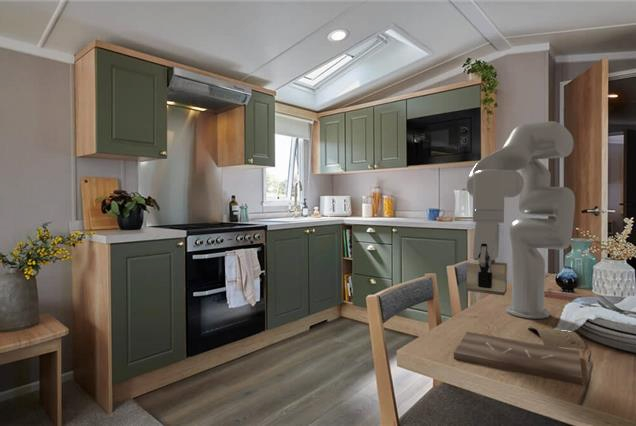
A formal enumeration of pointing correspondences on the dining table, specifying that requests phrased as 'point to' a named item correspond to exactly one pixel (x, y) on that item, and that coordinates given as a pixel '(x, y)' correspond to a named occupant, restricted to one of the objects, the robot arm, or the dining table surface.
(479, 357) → the walnut board
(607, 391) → the dining table surface
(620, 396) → the dining table surface
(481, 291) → the cream carton
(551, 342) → the clay tablet
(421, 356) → the dining table surface
